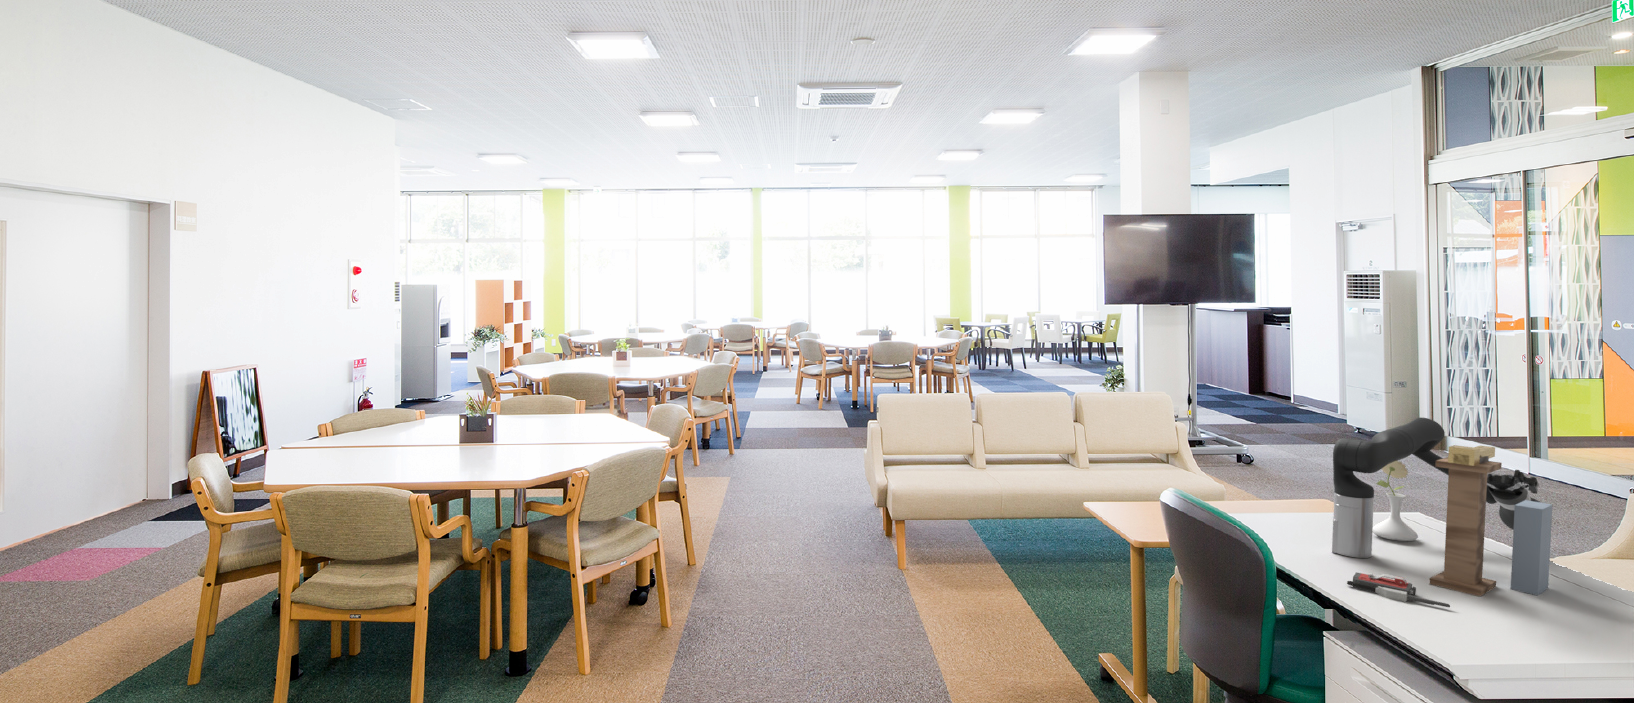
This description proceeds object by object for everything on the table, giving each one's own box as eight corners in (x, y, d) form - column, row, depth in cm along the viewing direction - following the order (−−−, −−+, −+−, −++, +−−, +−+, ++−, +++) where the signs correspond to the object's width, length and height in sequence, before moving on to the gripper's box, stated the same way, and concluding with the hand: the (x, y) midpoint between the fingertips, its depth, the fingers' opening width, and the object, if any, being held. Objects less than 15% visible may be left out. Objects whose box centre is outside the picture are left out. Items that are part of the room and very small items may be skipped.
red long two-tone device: (1344, 590, 183) (1449, 613, 169) (1345, 573, 183) (1450, 594, 169) (1351, 581, 189) (1452, 602, 175) (1351, 564, 189) (1453, 584, 175)
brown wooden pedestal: (1480, 596, 178) (1486, 462, 176) (1429, 583, 186) (1435, 456, 185) (1496, 586, 185) (1502, 457, 183) (1446, 574, 193) (1451, 451, 191)
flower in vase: (1427, 544, 219) (1431, 462, 217) (1389, 544, 219) (1393, 462, 217) (1394, 531, 232) (1397, 454, 230) (1358, 531, 232) (1361, 454, 231)
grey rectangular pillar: (1537, 595, 179) (1542, 509, 178) (1510, 588, 183) (1514, 504, 182) (1548, 587, 184) (1552, 504, 183) (1521, 581, 188) (1525, 500, 187)
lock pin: (1473, 465, 179) (1474, 449, 179) (1448, 462, 183) (1448, 446, 183) (1499, 457, 190) (1500, 442, 189) (1474, 454, 194) (1475, 439, 194)
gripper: (1479, 475, 211) (1464, 453, 203) (1547, 485, 199) (1533, 461, 191) (1474, 499, 209) (1458, 477, 201) (1542, 510, 197) (1528, 488, 189)
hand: (1495, 470), depth 196 cm, fingers open, 8 cm apart
